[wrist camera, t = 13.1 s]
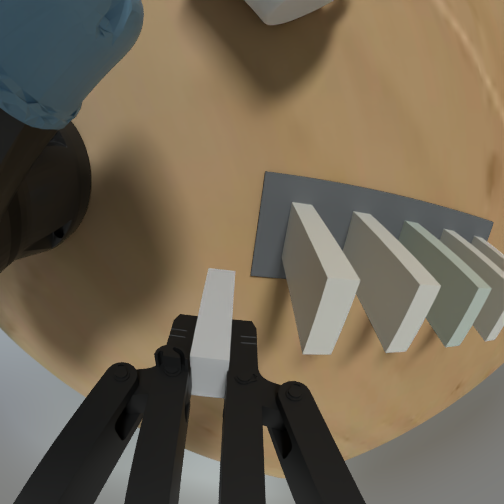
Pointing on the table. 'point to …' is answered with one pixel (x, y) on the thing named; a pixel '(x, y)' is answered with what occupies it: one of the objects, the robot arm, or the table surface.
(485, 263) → the tile
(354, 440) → the table surface
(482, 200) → the table surface
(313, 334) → the tile
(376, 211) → the strip
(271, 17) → the mug
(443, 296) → the tile
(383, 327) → the tile
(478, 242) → the tile
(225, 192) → the table surface
